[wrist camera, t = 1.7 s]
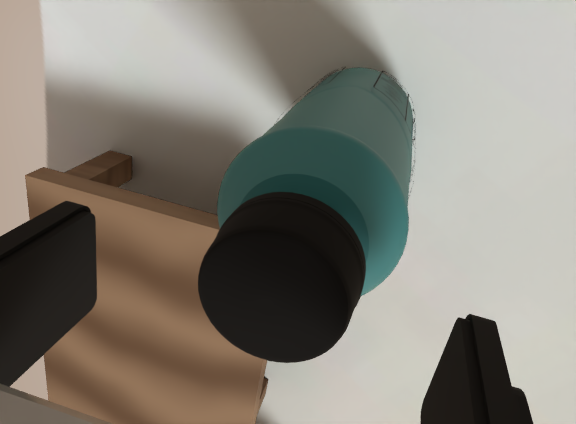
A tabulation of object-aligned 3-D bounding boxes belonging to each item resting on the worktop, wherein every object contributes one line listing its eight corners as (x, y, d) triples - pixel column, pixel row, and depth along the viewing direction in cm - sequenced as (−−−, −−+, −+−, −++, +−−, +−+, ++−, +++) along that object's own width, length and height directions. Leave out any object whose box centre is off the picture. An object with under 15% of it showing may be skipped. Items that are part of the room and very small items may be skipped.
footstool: (102, 140, 34) (25, 175, 28) (313, 195, 31) (283, 247, 25) (106, 346, 43) (49, 408, 37) (270, 401, 41) (240, 480, 34)
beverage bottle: (300, 71, 28) (97, 193, 11) (412, 49, 26) (387, 154, 9) (320, 172, 31) (180, 406, 13) (424, 159, 29) (425, 417, 11)
